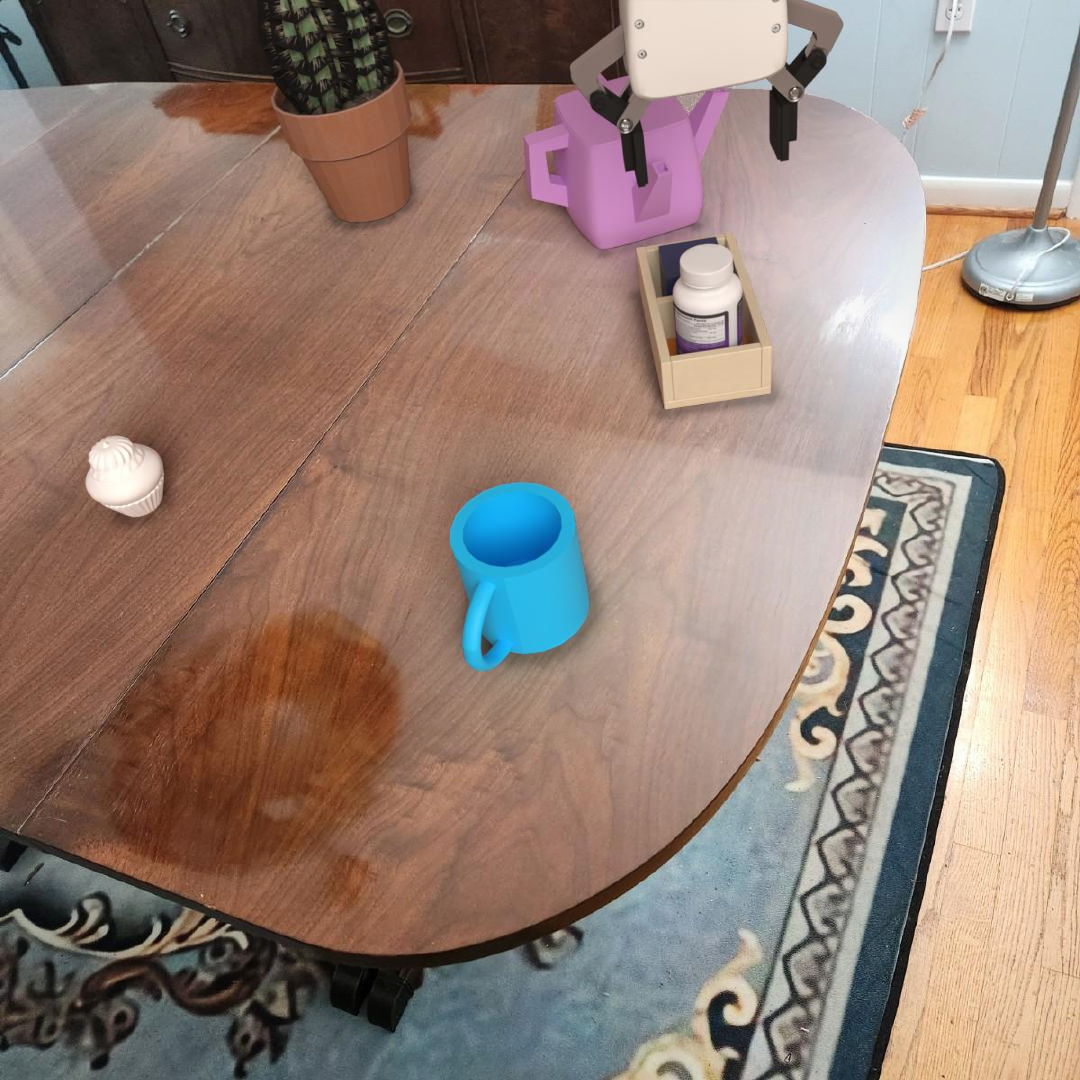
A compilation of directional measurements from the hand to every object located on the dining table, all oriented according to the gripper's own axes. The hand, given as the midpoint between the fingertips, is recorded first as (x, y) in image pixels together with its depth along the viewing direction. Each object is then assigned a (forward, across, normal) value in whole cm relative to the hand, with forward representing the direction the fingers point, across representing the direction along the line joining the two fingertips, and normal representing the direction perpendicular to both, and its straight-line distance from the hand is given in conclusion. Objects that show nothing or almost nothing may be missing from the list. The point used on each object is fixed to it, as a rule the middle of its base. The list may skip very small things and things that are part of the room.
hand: (709, 164), depth 70 cm
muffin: (+18, +49, +6) cm, 52 cm away
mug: (+19, +18, +23) cm, 35 cm away
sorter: (+18, +1, -5) cm, 19 cm away
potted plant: (+18, +32, -38) cm, 52 cm away
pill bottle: (+18, +1, -1) cm, 18 cm away
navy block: (+18, +1, -8) cm, 19 cm away
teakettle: (+18, +4, -28) cm, 33 cm away
